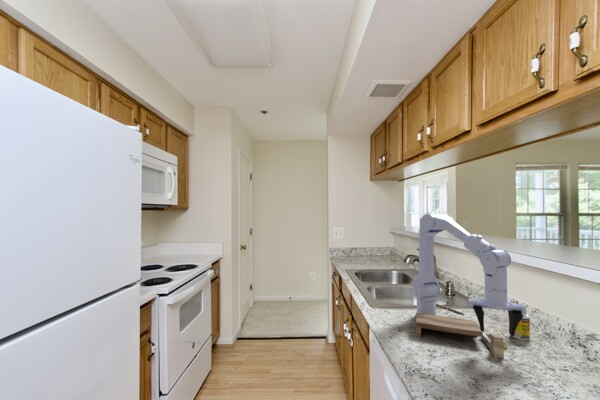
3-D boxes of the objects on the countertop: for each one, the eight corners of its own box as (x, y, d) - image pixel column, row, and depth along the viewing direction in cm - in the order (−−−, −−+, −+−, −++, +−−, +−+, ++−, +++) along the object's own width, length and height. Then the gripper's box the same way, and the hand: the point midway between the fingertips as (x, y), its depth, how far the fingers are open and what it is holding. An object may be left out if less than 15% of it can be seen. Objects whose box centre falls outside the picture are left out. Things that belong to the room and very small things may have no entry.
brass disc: (494, 349, 89) (494, 345, 89) (485, 342, 93) (485, 338, 94) (510, 350, 88) (510, 346, 88) (500, 342, 93) (500, 339, 93)
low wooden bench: (416, 325, 106) (415, 312, 106) (476, 335, 98) (475, 320, 98) (416, 336, 97) (416, 322, 97) (482, 347, 89) (482, 332, 89)
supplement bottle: (523, 342, 93) (522, 311, 93) (506, 335, 98) (505, 306, 99) (534, 339, 95) (533, 309, 95) (516, 332, 100) (515, 304, 101)
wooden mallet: (478, 338, 96) (478, 320, 96) (489, 339, 95) (488, 321, 95) (494, 356, 83) (493, 336, 84) (506, 358, 82) (506, 338, 83)
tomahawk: (472, 315, 120) (472, 312, 120) (461, 316, 117) (461, 313, 117) (434, 302, 138) (434, 299, 138) (424, 302, 135) (424, 299, 135)
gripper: (471, 289, 84) (472, 333, 84) (529, 294, 79) (530, 342, 78) (467, 283, 91) (467, 324, 90) (520, 288, 85) (521, 332, 85)
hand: (496, 332), depth 85 cm, fingers open, 7 cm apart
